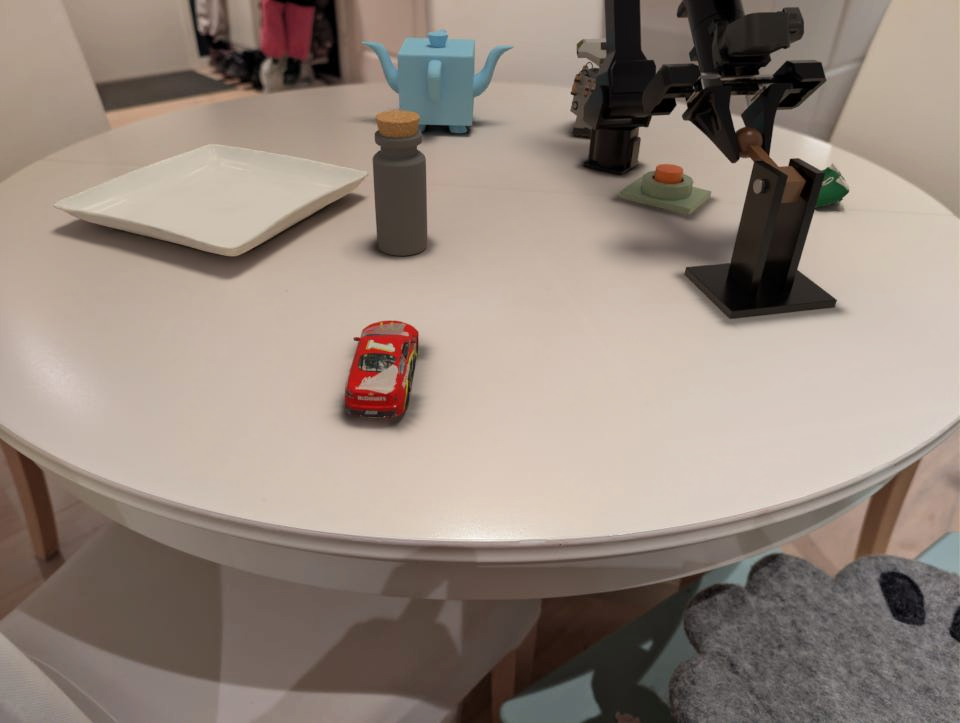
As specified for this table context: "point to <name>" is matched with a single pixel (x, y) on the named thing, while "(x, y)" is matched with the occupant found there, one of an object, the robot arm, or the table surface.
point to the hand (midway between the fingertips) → (750, 160)
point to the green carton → (832, 187)
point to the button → (668, 174)
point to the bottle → (400, 184)
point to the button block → (666, 194)
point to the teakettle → (438, 78)
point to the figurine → (586, 81)
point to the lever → (768, 161)
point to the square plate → (215, 197)
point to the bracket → (768, 250)
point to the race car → (382, 370)
